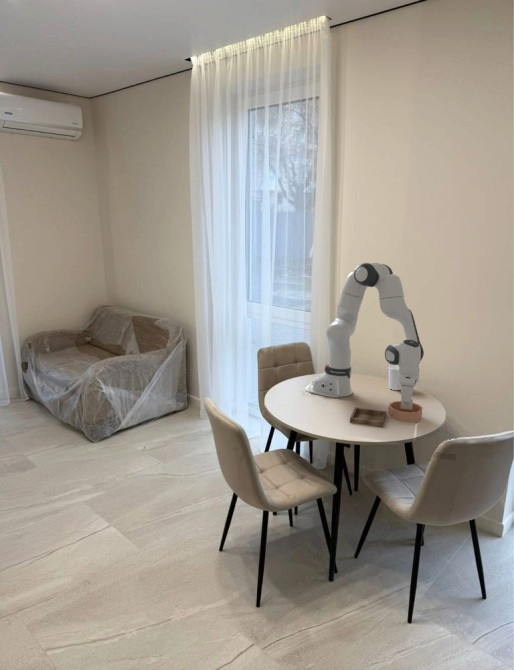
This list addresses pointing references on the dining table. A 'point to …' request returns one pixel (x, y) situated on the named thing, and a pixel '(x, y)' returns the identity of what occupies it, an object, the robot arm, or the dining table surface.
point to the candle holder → (394, 377)
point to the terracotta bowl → (405, 412)
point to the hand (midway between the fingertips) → (406, 405)
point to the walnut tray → (368, 417)
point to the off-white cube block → (408, 404)
